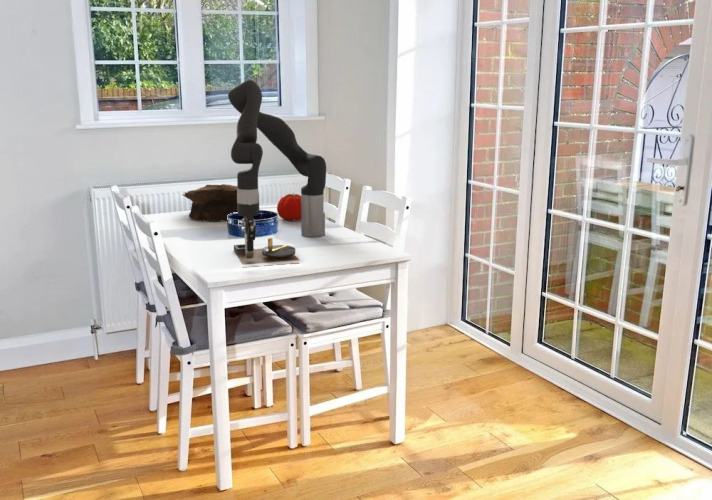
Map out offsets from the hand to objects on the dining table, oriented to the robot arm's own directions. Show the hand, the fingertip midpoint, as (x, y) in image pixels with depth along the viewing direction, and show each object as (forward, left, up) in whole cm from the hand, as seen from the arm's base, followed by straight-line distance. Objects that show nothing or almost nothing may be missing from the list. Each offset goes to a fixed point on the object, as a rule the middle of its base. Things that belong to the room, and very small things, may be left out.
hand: (249, 249), depth 248 cm
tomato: (-32, -69, -6) cm, 76 cm away
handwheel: (-11, -3, -3) cm, 12 cm away
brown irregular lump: (-2, -89, -6) cm, 89 cm away
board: (-7, -6, -5) cm, 11 cm away
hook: (0, 0, -3) cm, 3 cm away
